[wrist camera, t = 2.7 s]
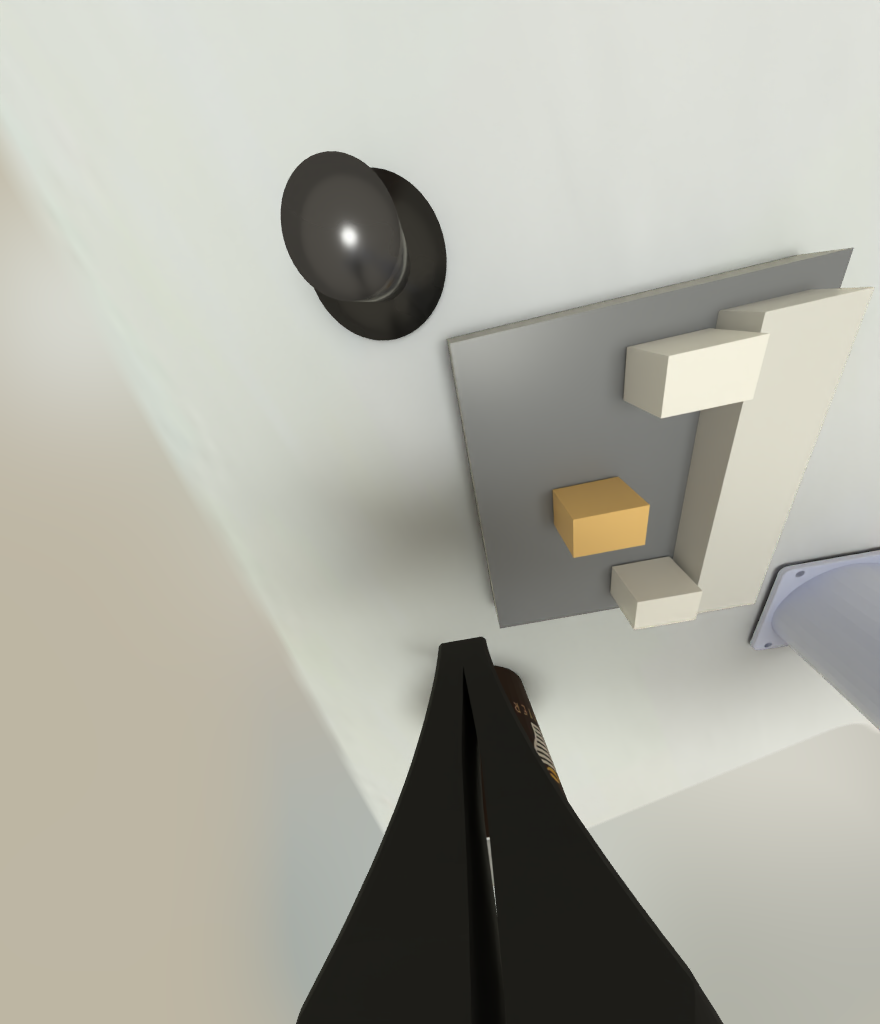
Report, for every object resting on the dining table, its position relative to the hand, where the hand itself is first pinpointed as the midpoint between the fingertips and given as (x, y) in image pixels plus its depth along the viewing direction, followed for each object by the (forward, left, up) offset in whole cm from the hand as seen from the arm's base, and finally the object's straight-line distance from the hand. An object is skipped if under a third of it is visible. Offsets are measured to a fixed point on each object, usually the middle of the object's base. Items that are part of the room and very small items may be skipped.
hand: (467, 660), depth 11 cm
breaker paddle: (-6, 0, -7) cm, 10 cm away
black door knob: (0, -11, -9) cm, 14 cm away
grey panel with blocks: (-9, 0, -9) cm, 13 cm away
